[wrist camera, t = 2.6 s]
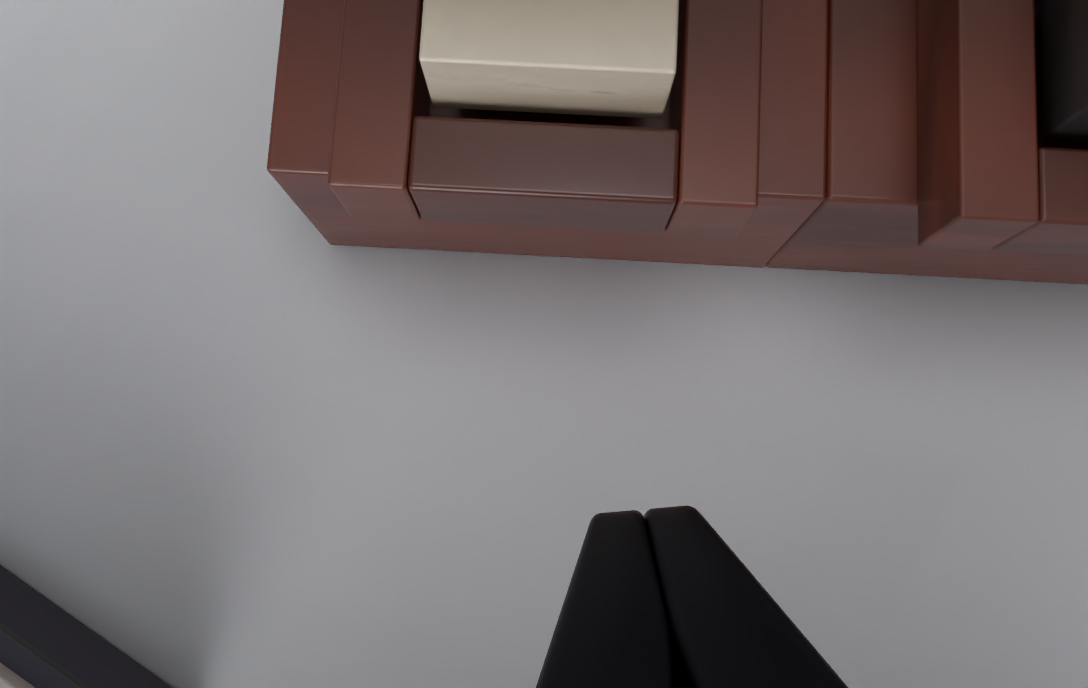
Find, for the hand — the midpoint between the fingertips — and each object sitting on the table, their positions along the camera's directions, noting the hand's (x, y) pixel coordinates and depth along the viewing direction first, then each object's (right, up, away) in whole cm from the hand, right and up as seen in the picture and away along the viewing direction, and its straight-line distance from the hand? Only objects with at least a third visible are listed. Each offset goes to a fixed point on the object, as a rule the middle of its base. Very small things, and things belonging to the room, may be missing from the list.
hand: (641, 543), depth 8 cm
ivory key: (-1, +7, +8) cm, 10 cm away
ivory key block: (0, +8, +14) cm, 16 cm away
